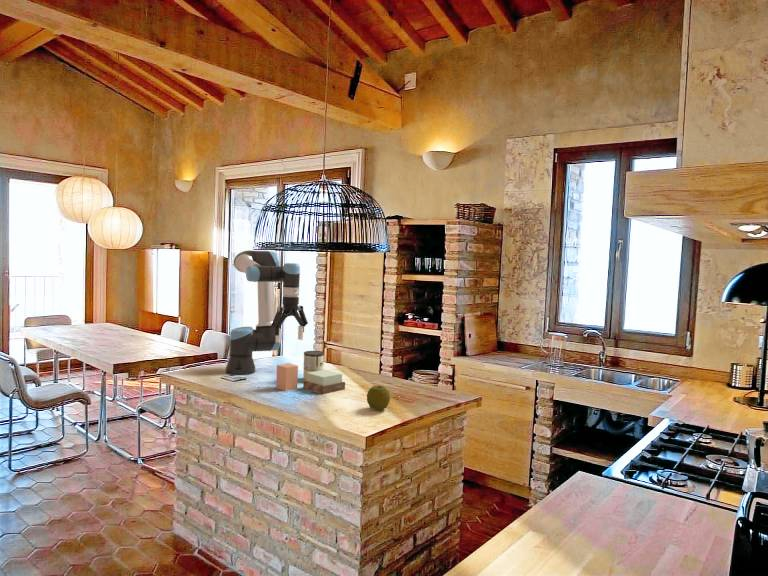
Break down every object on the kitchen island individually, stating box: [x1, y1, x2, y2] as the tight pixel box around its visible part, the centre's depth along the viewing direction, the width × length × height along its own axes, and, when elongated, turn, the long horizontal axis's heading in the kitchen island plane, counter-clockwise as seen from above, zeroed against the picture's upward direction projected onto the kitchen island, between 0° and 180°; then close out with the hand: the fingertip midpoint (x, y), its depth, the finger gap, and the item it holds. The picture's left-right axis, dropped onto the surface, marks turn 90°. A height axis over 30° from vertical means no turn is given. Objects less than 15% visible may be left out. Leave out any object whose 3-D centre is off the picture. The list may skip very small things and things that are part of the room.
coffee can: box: [302, 350, 325, 382], centre depth 289 cm, size 10×10×14 cm
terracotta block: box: [275, 362, 299, 392], centre depth 270 cm, size 7×7×11 cm
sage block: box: [306, 369, 343, 386], centre depth 272 cm, size 12×12×4 cm
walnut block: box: [302, 380, 346, 395], centre depth 272 cm, size 14×14×4 cm
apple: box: [366, 385, 391, 411], centre depth 241 cm, size 10×10×11 cm
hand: (289, 340), depth 269 cm, fingers open, 13 cm apart
